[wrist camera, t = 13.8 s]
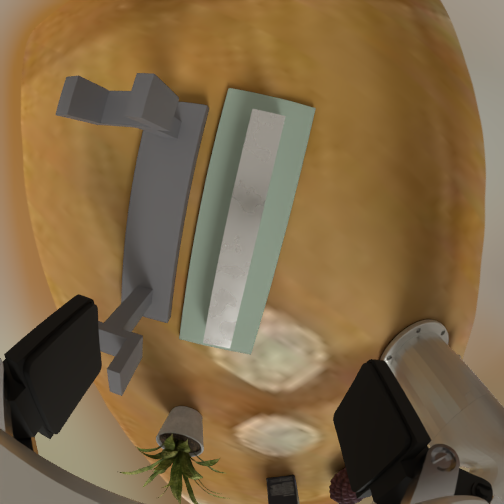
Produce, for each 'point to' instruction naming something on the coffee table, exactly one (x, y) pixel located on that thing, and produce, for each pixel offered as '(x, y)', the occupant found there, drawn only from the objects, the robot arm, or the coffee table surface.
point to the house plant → (179, 450)
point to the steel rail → (242, 225)
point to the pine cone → (342, 489)
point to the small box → (282, 490)
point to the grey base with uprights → (144, 202)
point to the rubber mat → (218, 207)
